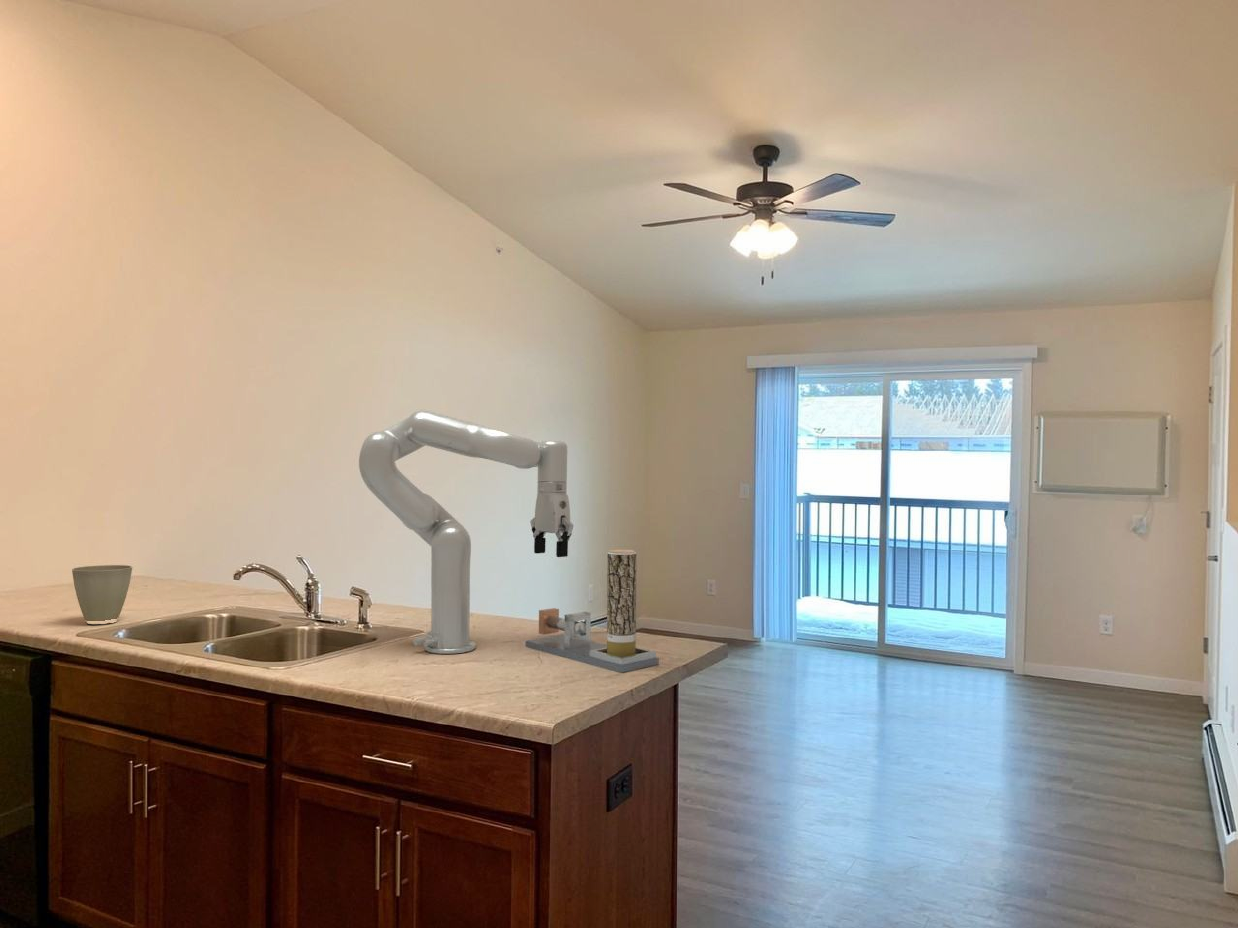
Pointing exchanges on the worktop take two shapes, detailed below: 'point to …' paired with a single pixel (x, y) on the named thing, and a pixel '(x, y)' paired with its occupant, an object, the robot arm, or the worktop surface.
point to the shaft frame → (590, 648)
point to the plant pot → (101, 590)
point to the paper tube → (621, 603)
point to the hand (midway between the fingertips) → (550, 554)
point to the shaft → (556, 622)
